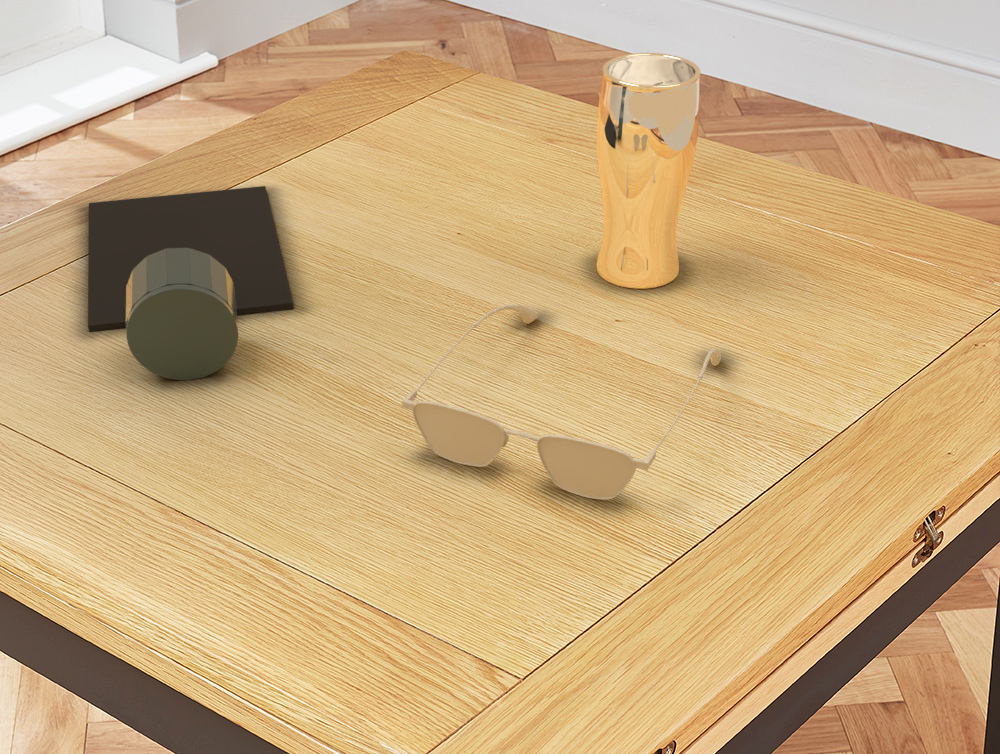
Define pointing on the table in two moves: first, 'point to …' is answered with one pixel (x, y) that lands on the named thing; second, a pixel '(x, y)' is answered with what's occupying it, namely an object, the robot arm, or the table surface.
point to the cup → (181, 314)
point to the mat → (186, 224)
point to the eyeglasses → (562, 456)
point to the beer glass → (644, 164)
